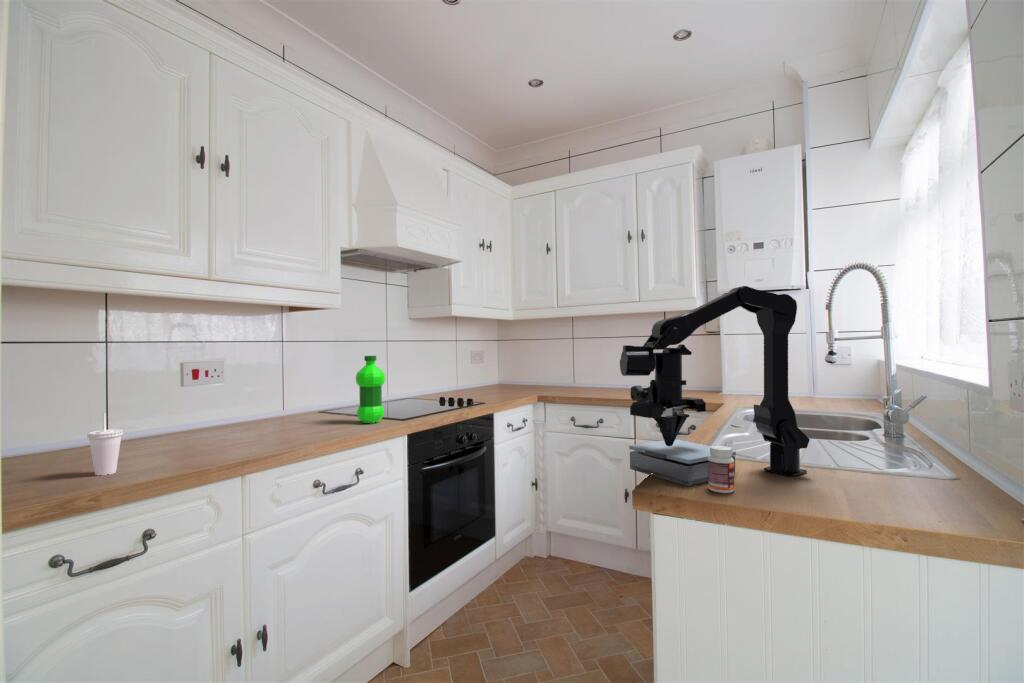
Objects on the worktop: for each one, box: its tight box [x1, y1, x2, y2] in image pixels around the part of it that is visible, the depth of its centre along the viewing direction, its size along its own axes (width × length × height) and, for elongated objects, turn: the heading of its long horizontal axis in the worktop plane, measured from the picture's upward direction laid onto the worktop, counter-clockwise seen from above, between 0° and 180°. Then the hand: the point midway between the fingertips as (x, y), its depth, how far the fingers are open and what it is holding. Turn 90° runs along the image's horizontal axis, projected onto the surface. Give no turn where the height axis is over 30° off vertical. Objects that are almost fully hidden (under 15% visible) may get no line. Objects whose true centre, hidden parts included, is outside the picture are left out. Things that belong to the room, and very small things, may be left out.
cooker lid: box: [628, 438, 737, 464], centre depth 108 cm, size 17×16×1 cm
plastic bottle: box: [355, 355, 386, 424], centre depth 178 cm, size 10×10×25 cm
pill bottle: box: [707, 445, 735, 494], centre depth 95 cm, size 5×5×8 cm
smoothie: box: [86, 412, 124, 477], centre depth 110 cm, size 6×6×14 cm
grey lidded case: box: [629, 450, 736, 487], centre depth 108 cm, size 16×16×4 cm
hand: (668, 445), depth 106 cm, fingers closed
